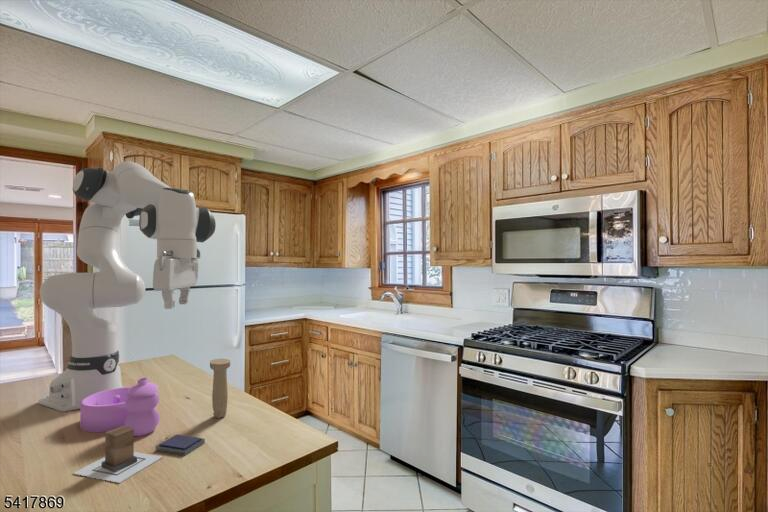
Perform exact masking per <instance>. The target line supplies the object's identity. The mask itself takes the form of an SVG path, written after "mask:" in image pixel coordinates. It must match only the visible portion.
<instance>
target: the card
mask: <svg viewBox="0 0 768 512" xmlns="http://www.w3.org/2000/svg"><path fill="white" fill-rule="evenodd" d="M134 456H135V457H137V462H136V463H134V464H131V465H129V466H127V467H125V468H123V469H120V470H118V471H116V472H112V471H110V470H107V469H105V468H103V467H101V466H102V462H103V461H105V456H103V457H102V458H100V459H98V460H96V461H94V462H91V463H90V464H87V465H86V466H84V467H82V468H81V469H79V470H76V471H74V472H73V473H72V475H77V476H80V475H81V476H82V477H85V476H86V478H90V479H95V478H96V480H100V479H101V480H100V481H105V480H106V481H105V482H110V481H111V483H115V482H116V483H115V484H121V483H123V482H124V480H125V481H127V480H128V479H129V478H131V477H133V476H135V475H136V474H138V473H140V472H141V471H143V470H144V469H146V468H147V467H149V466H151V465H153V464H154V463H156V462H157V461H159V460H161V459H162V458H163V456H162V455H155V454H149V453H142V452H137V451H134ZM81 476H80V477H81Z"/></svg>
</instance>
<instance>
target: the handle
mask: <svg viewBox="0 0 768 512" xmlns="http://www.w3.org/2000/svg"><path fill="white" fill-rule="evenodd" d="M209 367H210V369H211V370H213V378H212V392H211V393H212V395H211V398H212V399H211V401H212V402H211V403H212V411H213V414H212V415H213V418H215V419H221V418H224V417H226V415H227V409H228V399H229V397H228V396H229V395H228V392H229V391H228V376H227V375H228V374H227V371H228V370H227V369H228V368H229V369H230V367H231V360H230V359H228V358H215V359H211V360H210V361H209Z"/></svg>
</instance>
